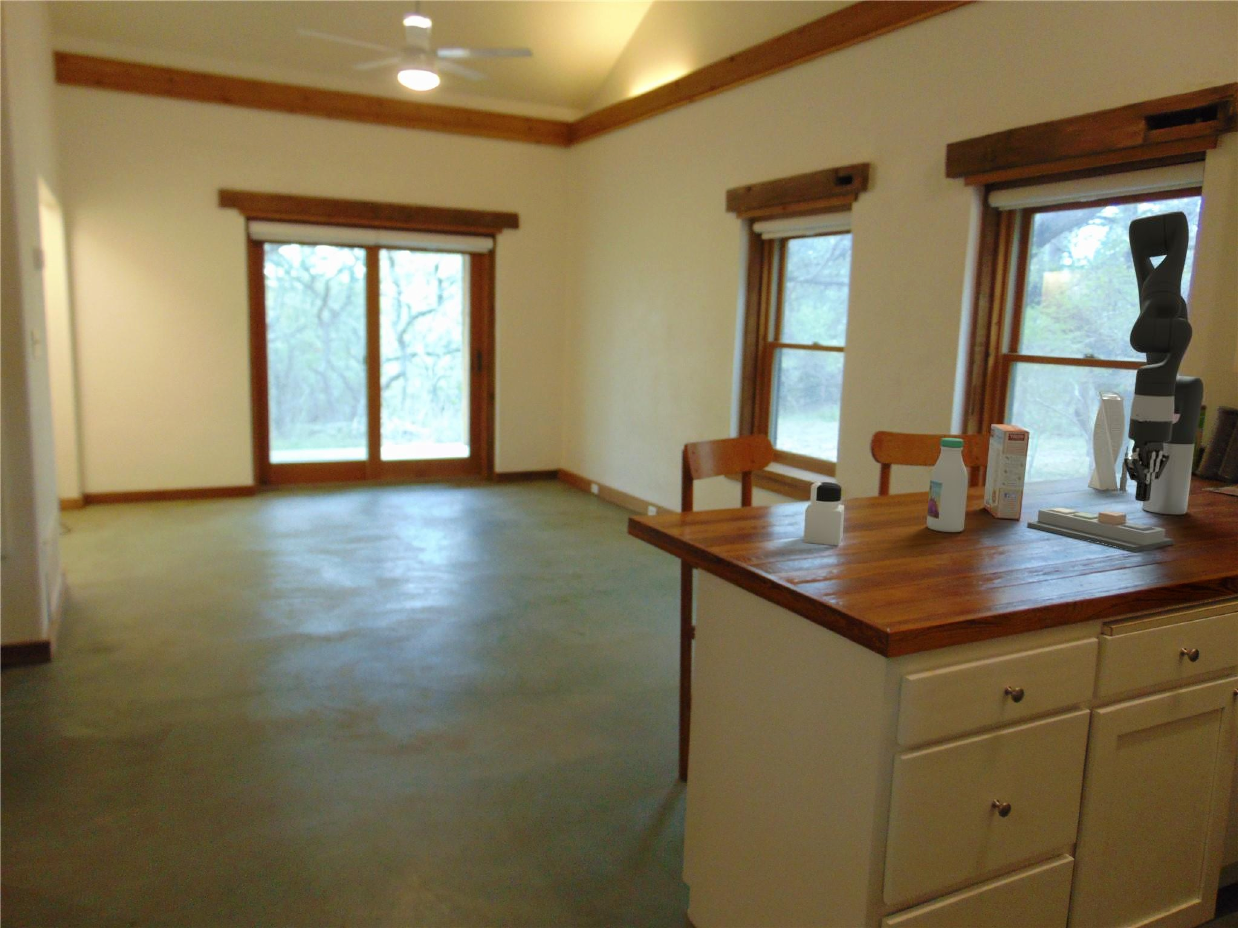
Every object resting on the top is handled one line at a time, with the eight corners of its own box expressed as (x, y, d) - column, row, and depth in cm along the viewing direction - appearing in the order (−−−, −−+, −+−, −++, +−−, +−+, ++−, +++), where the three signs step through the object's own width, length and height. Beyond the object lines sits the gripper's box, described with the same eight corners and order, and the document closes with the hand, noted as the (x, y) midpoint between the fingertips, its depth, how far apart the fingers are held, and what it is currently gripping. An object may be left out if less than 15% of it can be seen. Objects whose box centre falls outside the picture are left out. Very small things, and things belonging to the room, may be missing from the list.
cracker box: (1022, 520, 204) (1030, 430, 200) (994, 519, 205) (1002, 429, 201) (1008, 508, 217) (1016, 424, 214) (982, 506, 218) (990, 423, 215)
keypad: (1065, 520, 204) (1067, 505, 204) (1172, 544, 184) (1174, 527, 183) (1027, 526, 198) (1028, 511, 197) (1134, 551, 177) (1136, 534, 176)
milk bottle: (964, 527, 196) (972, 438, 192) (962, 534, 189) (970, 442, 186) (928, 523, 199) (935, 435, 196) (924, 530, 192) (931, 439, 189)
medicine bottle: (842, 538, 184) (846, 481, 182) (839, 546, 177) (842, 487, 175) (807, 535, 186) (810, 479, 184) (803, 542, 179) (806, 484, 177)
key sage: (1082, 524, 195) (1084, 512, 195) (1099, 528, 192) (1100, 515, 192) (1072, 526, 194) (1073, 514, 193) (1088, 530, 190) (1090, 517, 190)
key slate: (1132, 535, 186) (1133, 522, 186) (1150, 539, 183) (1152, 526, 182) (1121, 537, 184) (1123, 524, 184) (1140, 541, 181) (1141, 528, 181)
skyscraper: (1101, 492, 242) (1112, 390, 237) (1080, 487, 250) (1090, 388, 245) (1127, 492, 243) (1139, 391, 239) (1106, 486, 251) (1116, 388, 247)
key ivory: (1059, 519, 200) (1061, 507, 200) (1075, 523, 197) (1076, 510, 196) (1049, 521, 198) (1050, 509, 198) (1065, 524, 195) (1066, 512, 195)
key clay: (1107, 523, 191) (1109, 510, 190) (1125, 526, 187) (1126, 514, 187) (1097, 525, 189) (1098, 512, 188) (1114, 528, 185) (1116, 515, 185)
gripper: (1151, 414, 186) (1142, 494, 189) (1114, 417, 179) (1105, 500, 182) (1188, 417, 179) (1178, 500, 182) (1152, 421, 173) (1142, 507, 176)
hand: (1142, 500), depth 182 cm, fingers closed
